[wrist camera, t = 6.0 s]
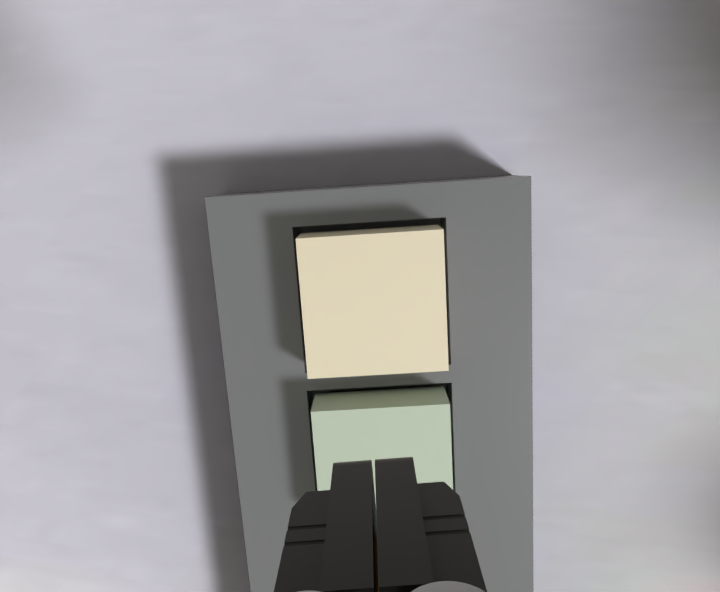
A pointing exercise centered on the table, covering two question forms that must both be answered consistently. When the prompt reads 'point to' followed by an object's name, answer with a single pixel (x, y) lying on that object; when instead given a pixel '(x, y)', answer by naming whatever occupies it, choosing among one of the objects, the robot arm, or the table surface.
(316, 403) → the sage key
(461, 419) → the keypad
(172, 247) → the table surface
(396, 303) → the beige key
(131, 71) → the table surface
